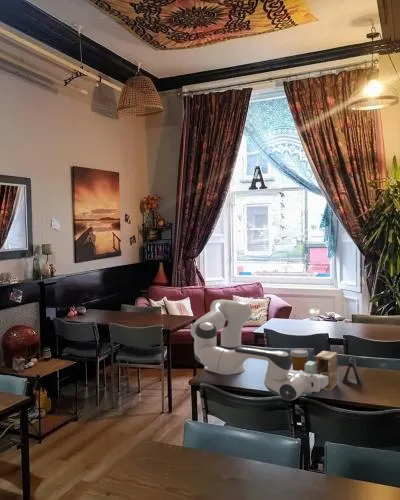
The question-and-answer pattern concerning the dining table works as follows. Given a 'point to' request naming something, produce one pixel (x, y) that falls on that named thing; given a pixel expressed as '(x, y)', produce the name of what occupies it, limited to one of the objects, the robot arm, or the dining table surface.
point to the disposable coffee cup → (299, 359)
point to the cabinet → (327, 368)
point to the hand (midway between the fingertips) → (311, 373)
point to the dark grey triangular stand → (357, 375)
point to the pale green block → (310, 370)
